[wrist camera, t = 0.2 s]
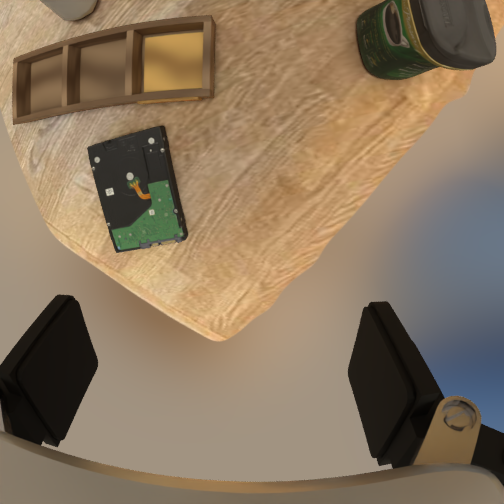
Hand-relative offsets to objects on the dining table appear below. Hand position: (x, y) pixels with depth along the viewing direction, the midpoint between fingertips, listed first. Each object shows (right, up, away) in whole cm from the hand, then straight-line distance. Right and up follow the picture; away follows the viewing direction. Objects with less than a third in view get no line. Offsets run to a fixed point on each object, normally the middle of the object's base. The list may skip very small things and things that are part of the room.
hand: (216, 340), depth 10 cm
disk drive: (-13, +11, +30) cm, 34 cm away
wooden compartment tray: (-17, +25, +22) cm, 38 cm away
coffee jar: (+18, +29, +21) cm, 40 cm away
